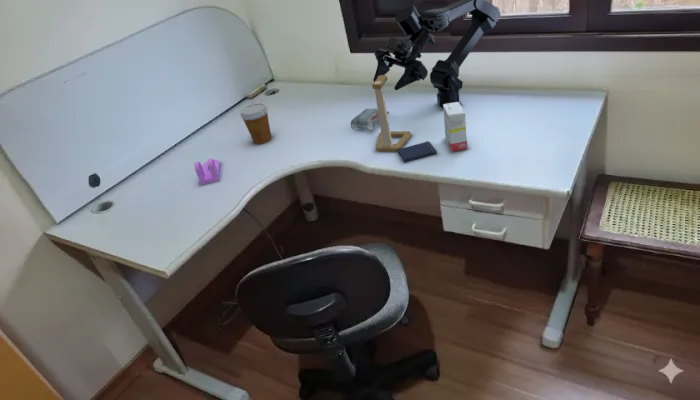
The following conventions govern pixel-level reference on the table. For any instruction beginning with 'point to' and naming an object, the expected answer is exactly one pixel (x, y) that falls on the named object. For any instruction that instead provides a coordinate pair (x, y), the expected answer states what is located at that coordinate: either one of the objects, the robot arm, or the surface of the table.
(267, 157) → the table surface
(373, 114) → the packaged food
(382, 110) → the headphone stand
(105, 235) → the table surface
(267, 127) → the disposable coffee cup
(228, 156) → the table surface
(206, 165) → the bracket
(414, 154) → the notepad
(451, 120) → the ink box
